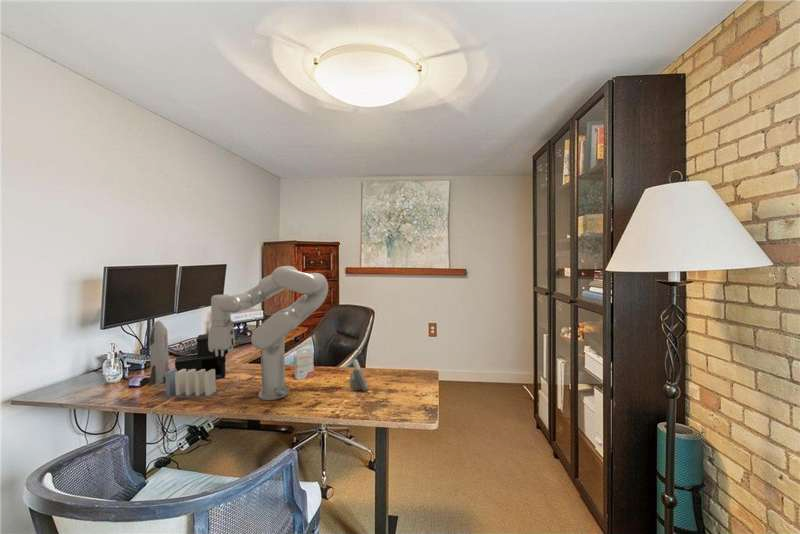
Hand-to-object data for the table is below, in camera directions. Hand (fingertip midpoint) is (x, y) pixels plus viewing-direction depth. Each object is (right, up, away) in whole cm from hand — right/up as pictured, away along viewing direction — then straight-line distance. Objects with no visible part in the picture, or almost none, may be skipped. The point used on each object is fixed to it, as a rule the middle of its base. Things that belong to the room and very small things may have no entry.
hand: (221, 364), depth 155 cm
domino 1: (-23, -13, +2) cm, 27 cm away
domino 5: (-5, -13, +1) cm, 14 cm away
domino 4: (-10, -13, +1) cm, 16 cm away
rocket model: (-39, -14, +18) cm, 45 cm away
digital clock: (+60, -12, +8) cm, 62 cm away
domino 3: (-14, -13, +1) cm, 19 cm away
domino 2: (-19, -13, +2) cm, 23 cm away
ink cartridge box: (+31, -12, +22) cm, 39 cm away
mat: (-14, -13, +1) cm, 20 cm away
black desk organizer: (-21, -13, +21) cm, 33 cm away
